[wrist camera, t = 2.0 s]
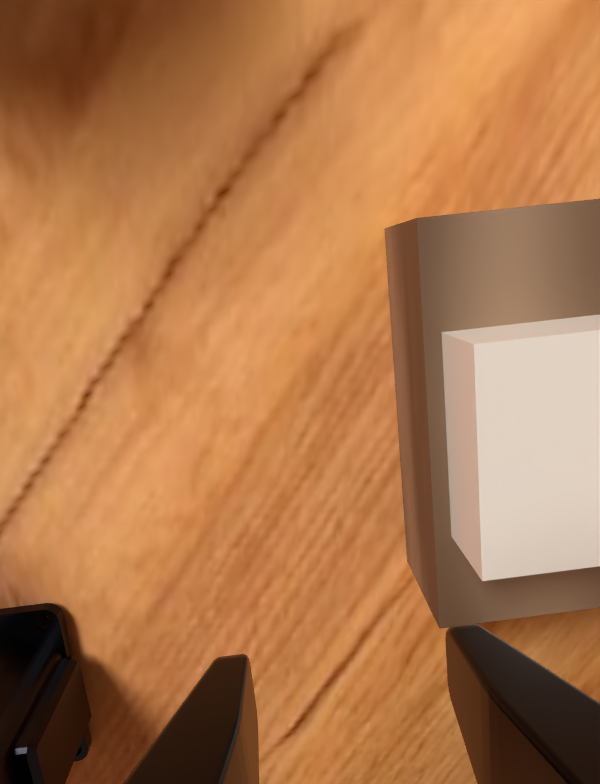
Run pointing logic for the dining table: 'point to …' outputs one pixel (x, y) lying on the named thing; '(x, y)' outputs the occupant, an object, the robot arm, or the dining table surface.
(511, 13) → the dining table surface
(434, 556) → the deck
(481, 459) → the light grey block
